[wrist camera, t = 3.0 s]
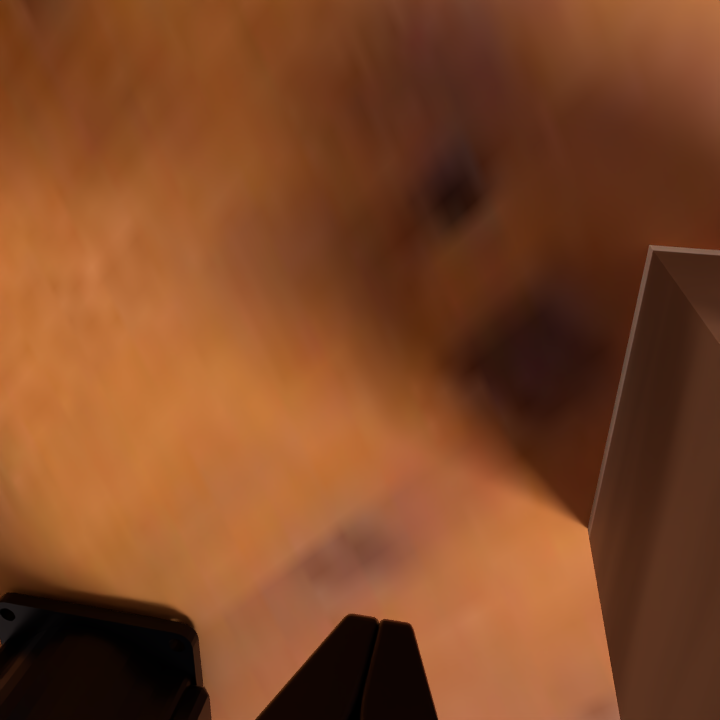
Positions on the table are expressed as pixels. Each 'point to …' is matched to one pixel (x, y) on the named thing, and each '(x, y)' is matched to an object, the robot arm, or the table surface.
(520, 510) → the table surface
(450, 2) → the table surface
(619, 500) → the walnut block
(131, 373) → the table surface
